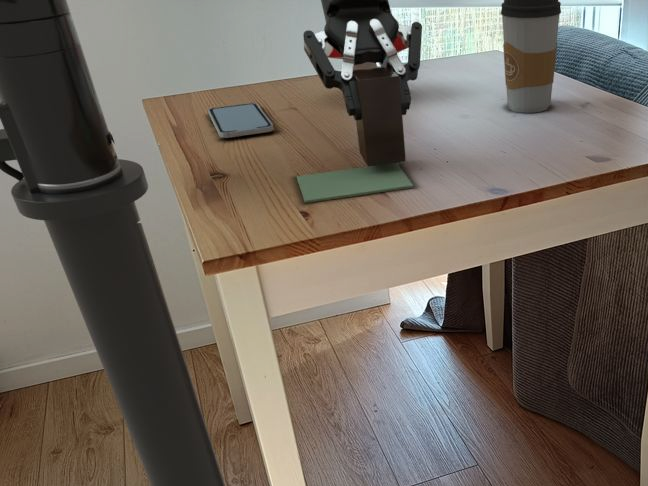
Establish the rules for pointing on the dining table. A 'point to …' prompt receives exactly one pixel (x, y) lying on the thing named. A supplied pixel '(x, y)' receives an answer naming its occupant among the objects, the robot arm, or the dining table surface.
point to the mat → (352, 182)
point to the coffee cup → (530, 52)
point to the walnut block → (380, 116)
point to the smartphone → (239, 120)
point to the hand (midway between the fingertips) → (381, 113)
